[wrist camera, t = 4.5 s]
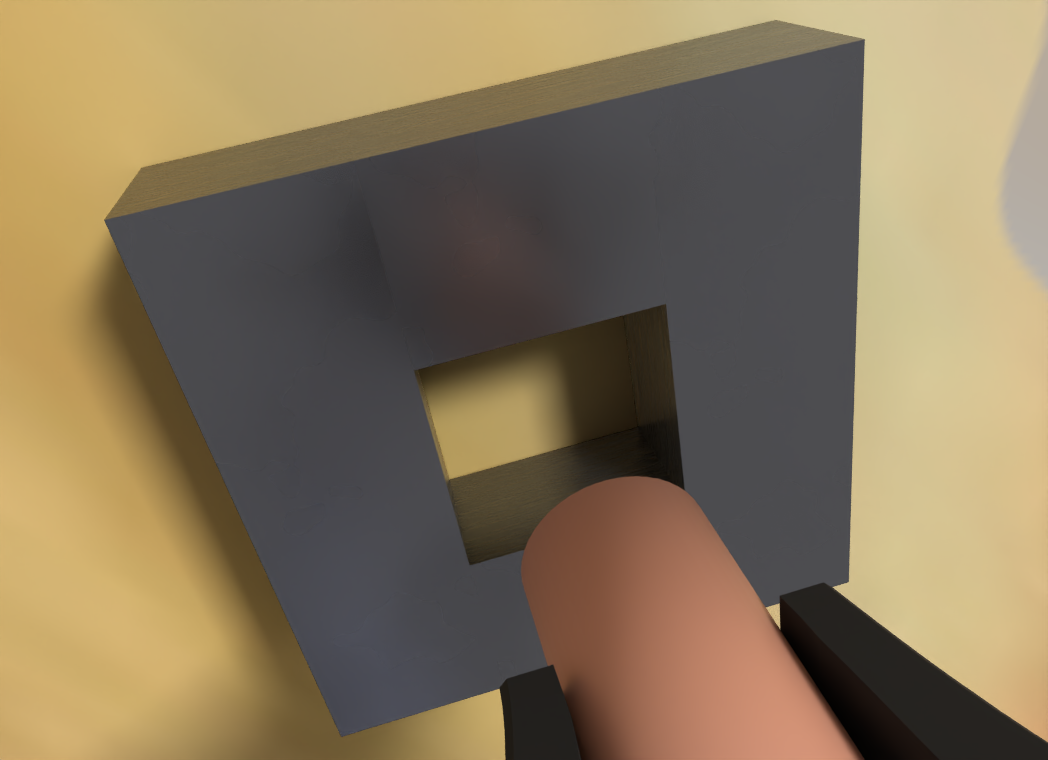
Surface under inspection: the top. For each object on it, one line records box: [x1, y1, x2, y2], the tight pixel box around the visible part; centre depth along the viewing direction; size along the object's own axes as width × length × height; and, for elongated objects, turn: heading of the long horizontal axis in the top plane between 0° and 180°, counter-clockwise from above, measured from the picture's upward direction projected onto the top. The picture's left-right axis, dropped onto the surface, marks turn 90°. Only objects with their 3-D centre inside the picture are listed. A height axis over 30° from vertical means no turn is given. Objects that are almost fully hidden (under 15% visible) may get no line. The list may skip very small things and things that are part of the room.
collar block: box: [104, 20, 865, 737], centre depth 17 cm, size 12×12×3 cm
